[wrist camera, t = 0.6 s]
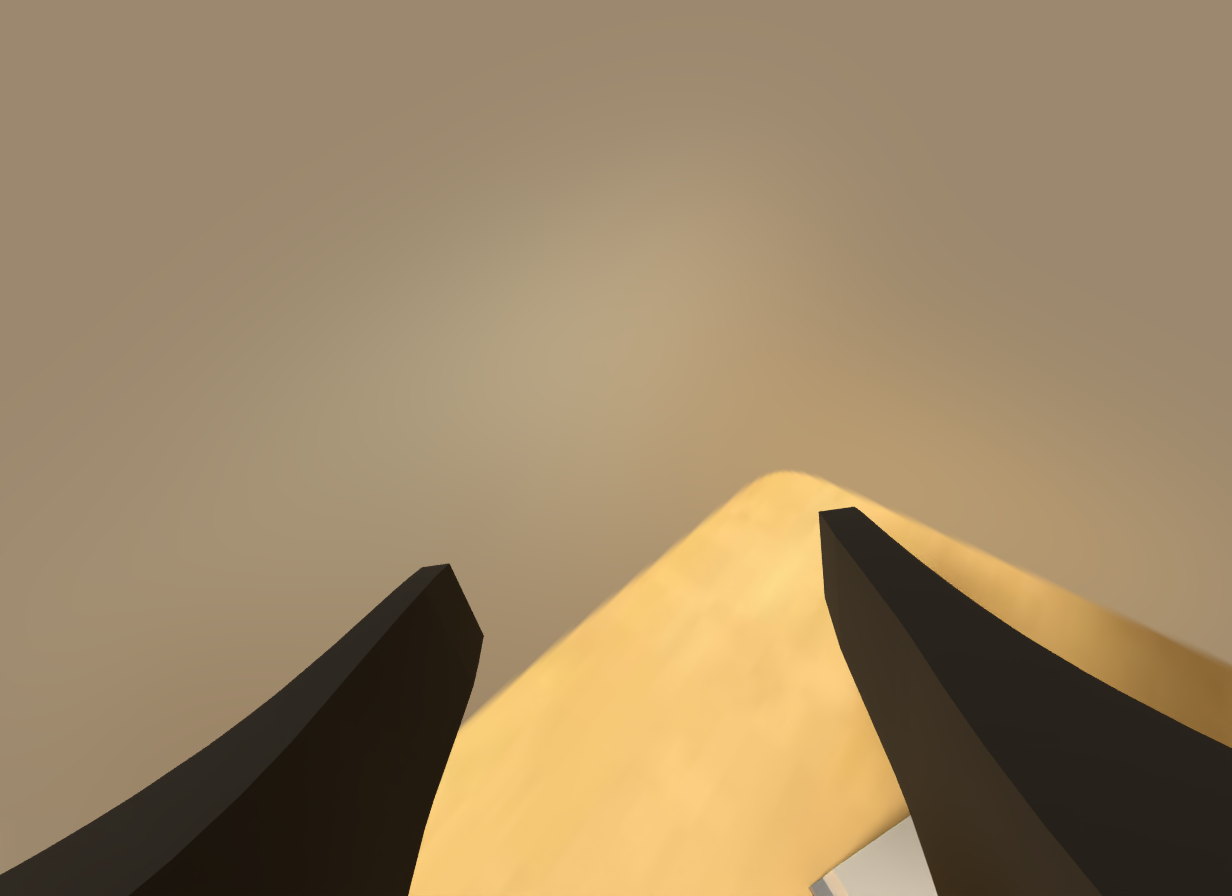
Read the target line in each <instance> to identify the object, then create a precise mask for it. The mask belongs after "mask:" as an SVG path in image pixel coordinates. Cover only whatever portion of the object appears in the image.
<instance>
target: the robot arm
mask: <svg viewBox="0 0 1232 896" xmlns="http://www.w3.org/2000/svg"><path fill="white" fill-rule="evenodd" d="M819 523H820V537H821V551H822V565H823V579H824V593H825V599H826V603H827V606H828V609H829V613H830V616H831V619H832V623H833V626H834V629H835V632H836V636H837V639H838V642H839V645H840V648H841V651H842V653H843V656H844V658H845V660H846V663H847V665H848V667H849V670H850V672H851V674H852V677H853V679H854V681H855V684H856V686H857V688H858V690H859V693H860V695H861V697H862V700H863V702H864V704H865V707H866V709H867V711H868V713H869V716H870V718H871V720H872V723H873V725H874V727H875V729H876V732H877V734H878V736H879V739H880V741H881V743H882V745H883V748H884V750H885V752H886V755H887V757H888V759H889V761H890V764H891V766H892V768H893V771H894V773H895V775H896V778H897V780H898V783H899V785H900V788H901V790H902V793H903V796H904V798H905V801H906V803H907V806H908V809H909V812H910V815H911V818H912V821H913V823H914V826H915V829H916V832H917V835H918V838H919V841H920V844H921V847H922V850H923V853H924V856H925V859H926V862H927V865H928V868H929V871H930V874H931V877H932V880H933V883H934V886H935V889H936V892H937V895H938V896H1232V748H1230V747H1228V746H1226V745H1224V744H1222V743H1220V742H1218V741H1216V740H1214V739H1211V738H1209V737H1207V736H1205V735H1203V734H1201V733H1199V732H1197V731H1195V730H1193V729H1191V728H1189V727H1187V726H1185V725H1183V724H1181V723H1180V722H1178V721H1176V720H1174V719H1172V718H1170V717H1168V716H1166V715H1164V714H1162V713H1160V712H1159V711H1157V710H1155V709H1153V708H1151V707H1149V706H1147V705H1145V704H1143V703H1141V702H1139V701H1137V700H1136V699H1134V698H1132V697H1130V696H1128V695H1126V694H1124V693H1122V692H1120V691H1118V690H1117V689H1115V688H1113V687H1111V686H1109V685H1108V684H1106V683H1104V682H1102V681H1100V680H1099V679H1097V678H1095V677H1093V676H1091V675H1090V674H1088V673H1086V672H1084V671H1083V670H1081V669H1079V668H1078V667H1076V666H1074V665H1073V664H1071V663H1069V662H1068V661H1066V660H1064V659H1063V658H1061V657H1059V656H1057V655H1056V654H1054V653H1052V652H1051V651H1049V650H1047V649H1046V648H1044V647H1042V646H1041V645H1039V644H1037V643H1036V642H1034V641H1032V640H1031V639H1029V638H1028V637H1026V636H1024V635H1023V634H1021V633H1020V632H1018V631H1017V630H1015V629H1014V628H1012V627H1011V626H1009V625H1008V624H1006V623H1005V622H1003V621H1002V620H1000V619H999V618H997V617H996V616H995V615H993V614H992V613H990V612H989V611H987V610H986V609H984V608H983V607H981V606H980V605H979V604H977V603H976V602H974V601H973V600H971V599H970V598H969V597H967V596H966V595H965V594H963V593H962V592H960V591H959V590H958V589H956V588H955V587H954V586H952V585H951V584H950V583H948V582H947V581H946V580H944V579H943V578H942V577H940V576H939V575H938V574H937V573H935V572H934V571H933V570H931V569H930V568H929V567H927V566H926V565H925V564H923V563H922V562H921V561H920V560H918V559H917V558H916V557H915V556H913V555H912V554H911V553H910V552H908V551H907V550H906V549H905V548H904V547H902V546H901V545H900V544H899V543H897V542H896V541H895V540H894V539H893V538H891V537H890V536H889V535H888V534H887V533H886V532H884V531H883V530H882V529H881V528H880V527H879V526H877V525H876V524H875V523H874V522H873V521H872V520H870V519H869V518H868V517H867V516H866V515H865V514H863V513H862V512H861V511H860V510H858V509H857V508H856V507H849V508H842V509H835V510H828V511H820V512H819ZM483 637H484V636H483V633H482V631H481V629H480V627H479V625H478V623H477V621H476V618H475V616H474V614H473V612H472V610H471V608H470V606H469V604H468V602H467V599H466V597H465V595H464V594H463V591H462V589H461V587H460V585H459V583H458V581H457V578H456V576H455V574H454V572H453V570H452V568H451V566H450V564H443V565H436V566H428V567H422V568H421V569H419V570H418V571H417V572H416V573H414V574H413V575H412V576H411V577H409V578H408V579H407V580H406V581H405V582H403V583H402V584H401V585H400V586H399V587H398V588H397V589H395V590H394V591H393V592H392V593H391V594H390V595H389V596H388V597H386V598H385V599H384V600H383V601H382V602H381V603H380V604H379V605H378V606H376V607H375V608H374V609H373V610H372V611H371V612H370V613H369V614H368V615H367V616H365V617H364V618H363V619H362V620H361V621H360V622H359V623H358V624H357V625H355V626H354V627H353V628H352V629H351V630H350V631H349V632H348V633H347V634H345V635H344V636H343V637H342V638H341V639H340V640H339V641H338V642H337V643H336V644H334V645H333V646H332V647H331V648H330V649H329V650H328V651H326V652H325V653H324V654H323V655H322V656H320V657H319V658H318V659H317V660H316V661H315V662H313V663H312V664H311V665H310V666H309V667H308V668H306V669H305V670H304V671H303V672H302V673H300V674H299V675H298V676H297V677H296V678H295V679H293V680H292V681H291V682H290V683H289V684H288V685H286V686H285V687H284V688H283V689H282V690H281V691H279V692H278V693H277V694H276V695H275V696H273V697H272V698H271V699H269V700H268V701H267V702H266V703H264V704H263V705H262V706H260V707H259V708H258V709H256V710H255V711H254V712H253V713H251V714H250V715H249V716H247V717H246V718H245V719H243V720H242V721H241V722H239V723H238V724H237V725H235V726H234V727H233V728H231V729H230V730H229V731H227V732H226V733H225V734H223V735H222V736H221V737H219V738H218V739H216V740H215V741H214V742H212V743H211V744H210V745H209V746H207V747H205V748H204V749H202V750H201V751H200V752H198V753H197V754H196V755H194V756H192V757H191V758H189V759H188V760H187V761H185V762H183V763H182V764H180V765H179V766H177V767H176V768H174V769H173V770H171V771H170V772H168V773H167V774H165V775H164V776H162V777H161V778H160V779H158V780H157V781H155V782H154V783H152V784H151V785H149V786H148V787H146V788H145V789H143V790H142V791H140V792H139V793H138V794H136V795H134V796H133V797H131V798H129V799H128V800H126V801H125V802H123V803H122V804H120V805H118V806H117V807H115V808H113V809H112V810H110V811H109V812H107V813H105V814H104V815H102V816H101V817H99V818H97V819H96V820H94V821H93V822H91V823H89V824H88V825H86V826H84V827H82V828H81V829H79V830H77V831H76V832H74V833H73V834H71V835H69V836H67V837H66V838H64V839H62V840H61V841H59V842H57V843H56V844H54V845H52V846H51V847H49V848H47V849H46V850H44V851H42V852H40V853H39V854H37V855H35V856H33V857H32V858H30V859H28V860H26V861H24V862H23V863H21V864H19V865H17V866H16V867H14V868H12V869H10V870H8V871H6V872H5V873H3V874H1V875H0V896H408V894H409V889H410V885H411V882H412V878H413V874H414V870H415V866H416V862H417V858H418V854H419V850H420V846H421V842H422V838H423V834H424V830H425V827H426V823H427V820H428V817H429V814H430V810H431V807H432V804H433V801H434V798H435V795H436V792H437V789H438V787H439V784H440V781H441V778H442V775H443V772H444V770H445V767H446V764H447V761H448V758H449V755H450V752H451V750H452V747H453V744H454V741H455V738H456V735H457V733H458V730H459V727H460V724H461V720H462V718H463V715H464V712H465V709H466V706H467V704H468V701H469V698H470V695H471V691H472V688H473V685H474V681H475V677H476V672H477V668H478V664H479V658H480V653H481V647H482V642H483Z"/></svg>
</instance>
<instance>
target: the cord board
mask: <svg viewBox="0 0 1232 896" xmlns="http://www.w3.org/2000/svg"><path fill="white" fill-rule="evenodd" d="M809 889H810V891H811V893H812V895H813V896H938V895H937V892H936V889H935V886H934V883H933V880H932V877H931V874H930V871H929V868H928V865H927V862H926V859H925V856H924V853H923V850H922V847H921V844H920V841H919V838H918V835H917V832H916V829H915V826H914V823H913V821H912V818H911V815H910V816H909V817H907V818H906V819H904V820H903V821H901V822H900V823H898V824H897V825H896V826H894V827H893V828H891V829H890V830H888V831H887V832H886V833H884V834H883V835H881V836H880V837H878V838H877V839H875V840H874V841H873V842H871V843H870V844H868V845H867V846H865V847H864V848H863V849H861V850H860V851H858V852H857V853H855V854H854V855H852V856H851V857H850V858H848V859H847V860H845V861H844V862H842V863H841V864H840V865H838V866H837V867H835V868H834V869H832V870H831V871H830V872H829V873H828V874H826V875H825V876H824V877H823V878H821V879H820V880H818V881H817V882H816V883H814V884H813V885H811V886H810V887H809Z"/></svg>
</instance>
